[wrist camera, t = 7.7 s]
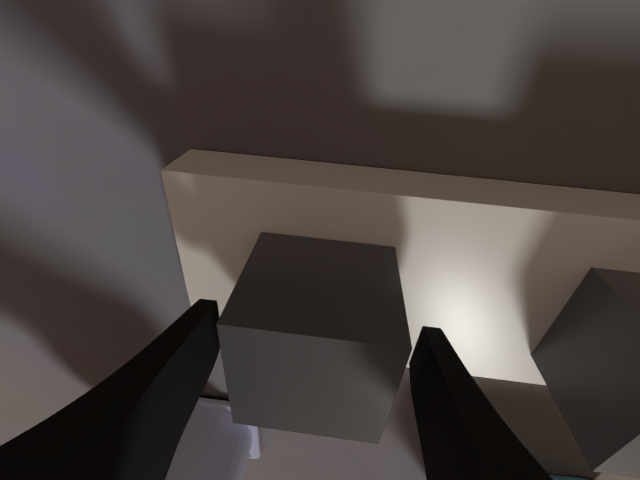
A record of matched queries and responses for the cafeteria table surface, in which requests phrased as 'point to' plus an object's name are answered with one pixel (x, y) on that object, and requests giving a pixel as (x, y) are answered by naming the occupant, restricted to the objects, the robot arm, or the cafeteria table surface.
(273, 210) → the power strip
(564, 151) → the cafeteria table surface
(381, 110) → the cafeteria table surface
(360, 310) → the matte gray cuboid
